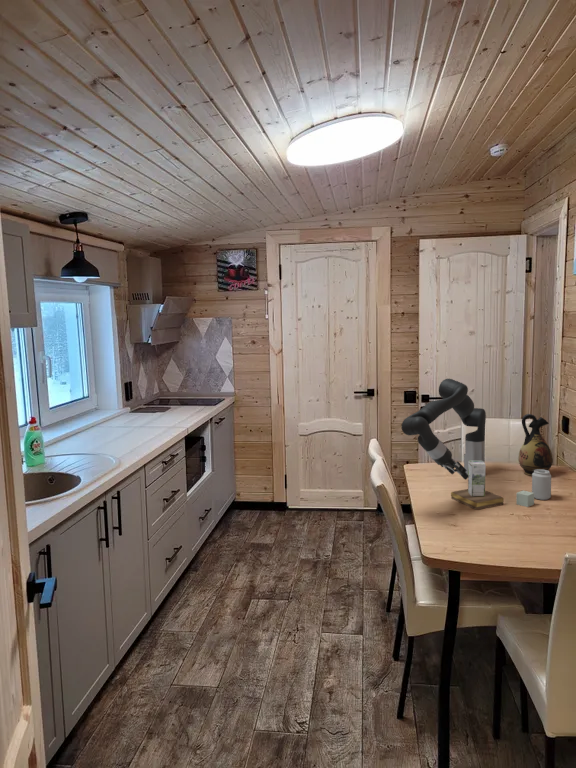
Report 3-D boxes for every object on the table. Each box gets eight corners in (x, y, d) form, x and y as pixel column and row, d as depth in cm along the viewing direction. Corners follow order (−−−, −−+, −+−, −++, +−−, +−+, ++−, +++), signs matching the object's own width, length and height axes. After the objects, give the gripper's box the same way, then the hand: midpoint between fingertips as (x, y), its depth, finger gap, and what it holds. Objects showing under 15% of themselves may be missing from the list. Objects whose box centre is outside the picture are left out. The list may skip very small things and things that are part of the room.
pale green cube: (516, 504, 233) (516, 492, 232) (522, 501, 236) (523, 490, 235) (527, 507, 229) (527, 495, 228) (534, 504, 232) (534, 493, 231)
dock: (451, 498, 242) (451, 491, 242) (477, 493, 248) (477, 487, 247) (476, 509, 228) (476, 502, 227) (503, 504, 233) (503, 497, 232)
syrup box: (481, 492, 240) (481, 459, 238) (485, 496, 234) (485, 463, 232) (468, 492, 240) (468, 460, 239) (471, 497, 234) (471, 463, 233)
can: (550, 496, 241) (551, 469, 240) (550, 501, 234) (551, 473, 233) (532, 494, 244) (532, 467, 243) (531, 499, 238) (531, 472, 236)
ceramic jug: (546, 470, 280) (548, 411, 276) (556, 478, 265) (557, 417, 261) (511, 469, 283) (512, 411, 279) (518, 478, 268) (519, 417, 264)
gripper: (454, 448, 222) (477, 472, 227) (433, 440, 235) (454, 464, 240) (443, 462, 220) (466, 486, 226) (422, 454, 234) (444, 477, 239)
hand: (460, 475), depth 233 cm, fingers open, 8 cm apart
